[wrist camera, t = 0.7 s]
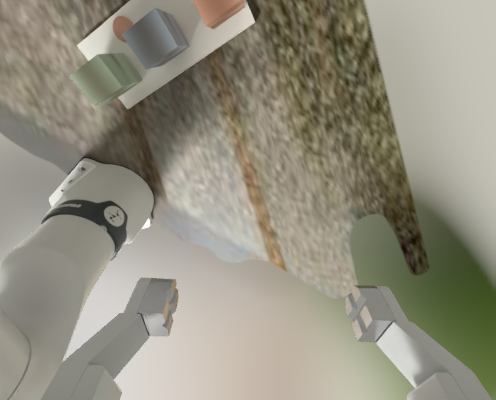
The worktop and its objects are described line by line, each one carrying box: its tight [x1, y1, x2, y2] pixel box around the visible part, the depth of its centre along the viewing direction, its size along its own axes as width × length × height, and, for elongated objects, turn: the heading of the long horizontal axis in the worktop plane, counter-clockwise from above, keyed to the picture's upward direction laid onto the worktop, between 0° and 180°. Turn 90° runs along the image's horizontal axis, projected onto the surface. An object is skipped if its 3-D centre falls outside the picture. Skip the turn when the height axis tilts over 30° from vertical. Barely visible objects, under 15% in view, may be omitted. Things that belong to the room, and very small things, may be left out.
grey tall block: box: [122, 8, 190, 69], centre depth 30 cm, size 5×4×7 cm
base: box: [77, 0, 255, 109], centre depth 33 cm, size 24×10×2 cm, turn 119°
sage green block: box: [70, 53, 142, 106], centre depth 32 cm, size 5×4×7 cm
